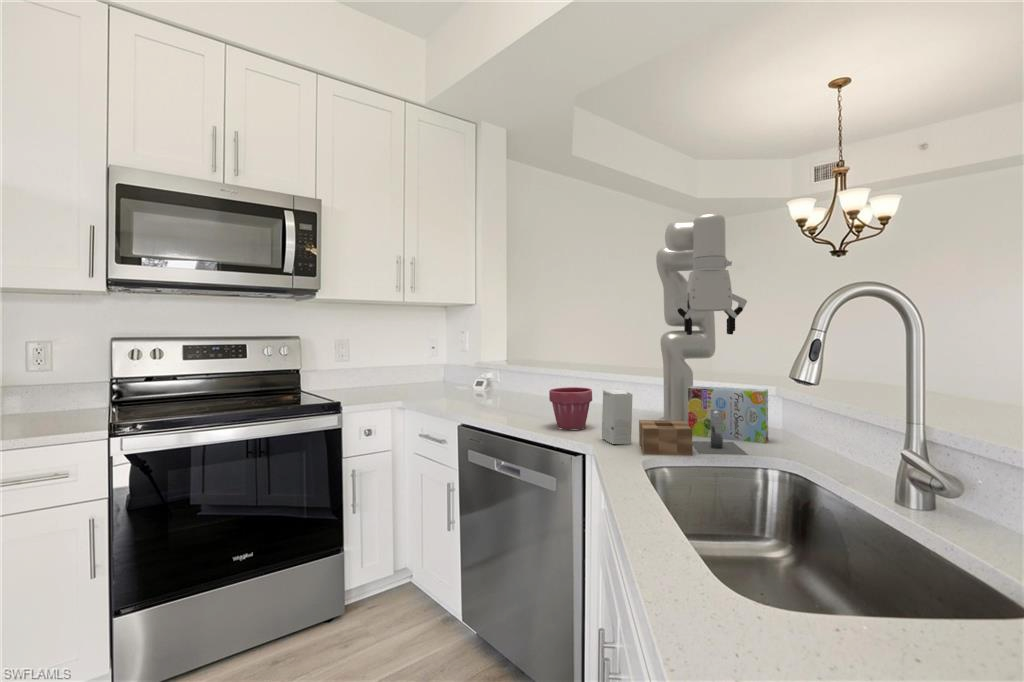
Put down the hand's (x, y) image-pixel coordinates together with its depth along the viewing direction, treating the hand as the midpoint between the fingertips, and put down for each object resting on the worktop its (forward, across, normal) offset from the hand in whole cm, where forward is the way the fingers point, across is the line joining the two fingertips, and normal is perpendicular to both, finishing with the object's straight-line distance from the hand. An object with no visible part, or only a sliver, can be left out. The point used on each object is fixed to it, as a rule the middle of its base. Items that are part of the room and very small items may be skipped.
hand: (709, 334), depth 123 cm
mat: (+31, -4, -10) cm, 33 cm away
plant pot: (+31, +36, -35) cm, 59 cm away
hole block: (+31, +10, -7) cm, 33 cm away
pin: (+31, -4, -10) cm, 32 cm away
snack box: (+31, -10, -23) cm, 40 cm away
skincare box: (+31, +22, -16) cm, 41 cm away
